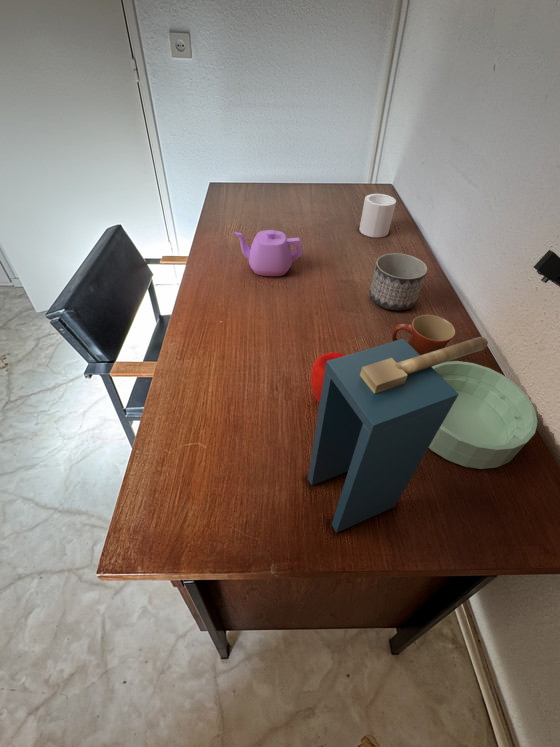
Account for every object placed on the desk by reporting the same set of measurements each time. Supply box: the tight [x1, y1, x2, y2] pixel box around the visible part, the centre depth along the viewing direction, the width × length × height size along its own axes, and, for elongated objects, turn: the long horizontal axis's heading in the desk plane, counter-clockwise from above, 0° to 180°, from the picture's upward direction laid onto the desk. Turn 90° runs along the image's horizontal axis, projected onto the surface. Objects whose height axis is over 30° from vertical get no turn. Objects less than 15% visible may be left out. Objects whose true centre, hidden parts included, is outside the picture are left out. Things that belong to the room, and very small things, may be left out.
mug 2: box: [358, 193, 397, 238], centre depth 127 cm, size 14×10×11 cm
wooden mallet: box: [360, 336, 489, 394], centre depth 43 cm, size 17×3×2 cm, turn 113°
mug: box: [391, 314, 456, 355], centre depth 80 cm, size 12×9×10 cm
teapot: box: [232, 229, 304, 277], centre depth 107 cm, size 13×20×11 cm
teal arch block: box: [307, 338, 459, 533], centre depth 52 cm, size 10×11×28 cm
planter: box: [368, 252, 428, 311], centre depth 97 cm, size 13×13×10 cm
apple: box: [310, 351, 347, 404], centre depth 72 cm, size 9×9×11 cm
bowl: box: [428, 360, 539, 470], centre depth 70 cm, size 21×21×7 cm
